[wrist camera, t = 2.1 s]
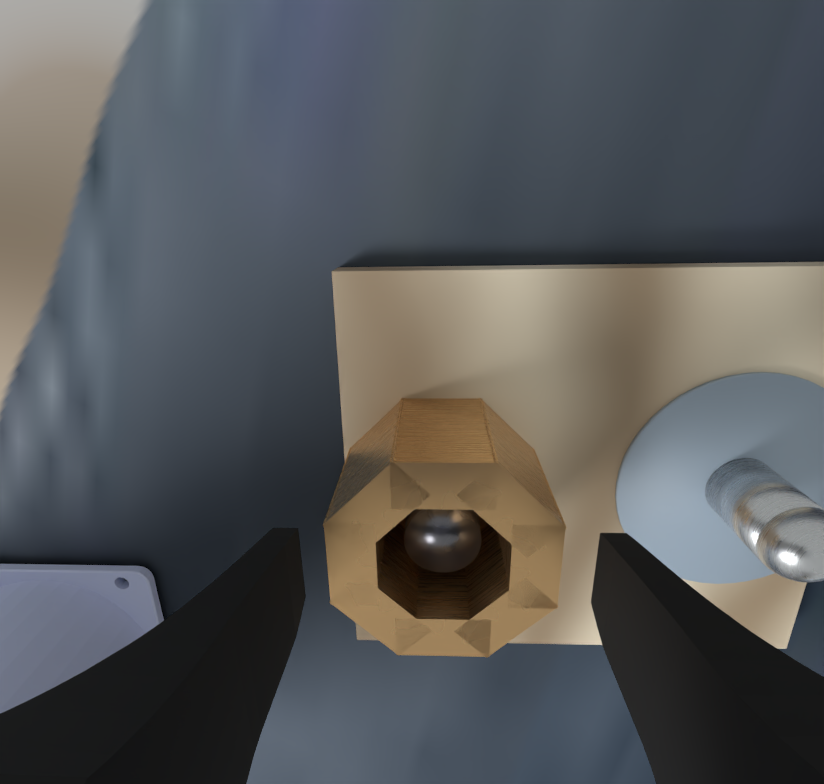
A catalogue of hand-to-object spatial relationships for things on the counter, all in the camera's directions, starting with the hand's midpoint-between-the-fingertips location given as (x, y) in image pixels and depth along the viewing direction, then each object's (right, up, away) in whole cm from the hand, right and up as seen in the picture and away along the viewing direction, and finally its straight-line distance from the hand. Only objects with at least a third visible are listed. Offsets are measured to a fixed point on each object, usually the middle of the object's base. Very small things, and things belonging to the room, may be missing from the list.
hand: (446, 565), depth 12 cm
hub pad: (+9, +1, +3) cm, 10 cm away
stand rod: (0, +1, +4) cm, 4 cm away
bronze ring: (0, +1, +4) cm, 4 cm away
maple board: (+5, +2, +5) cm, 7 cm away
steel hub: (+9, +1, +3) cm, 10 cm away
